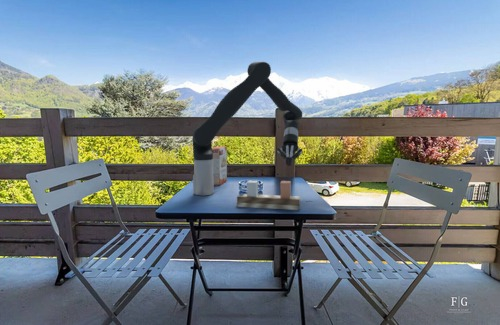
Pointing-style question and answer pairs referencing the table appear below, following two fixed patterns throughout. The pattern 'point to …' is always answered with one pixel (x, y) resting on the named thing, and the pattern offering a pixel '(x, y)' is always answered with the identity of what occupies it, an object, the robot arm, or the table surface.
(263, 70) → the robot arm
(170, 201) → the table surface
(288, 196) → the terracotta plug
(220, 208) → the table surface
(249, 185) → the white rectangular block
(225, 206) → the table surface
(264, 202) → the press stand
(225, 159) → the cracker box
